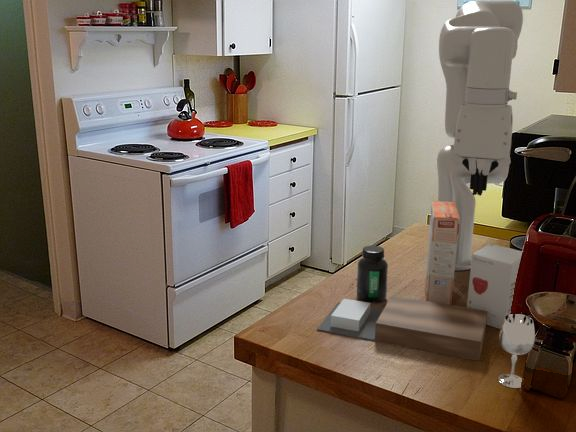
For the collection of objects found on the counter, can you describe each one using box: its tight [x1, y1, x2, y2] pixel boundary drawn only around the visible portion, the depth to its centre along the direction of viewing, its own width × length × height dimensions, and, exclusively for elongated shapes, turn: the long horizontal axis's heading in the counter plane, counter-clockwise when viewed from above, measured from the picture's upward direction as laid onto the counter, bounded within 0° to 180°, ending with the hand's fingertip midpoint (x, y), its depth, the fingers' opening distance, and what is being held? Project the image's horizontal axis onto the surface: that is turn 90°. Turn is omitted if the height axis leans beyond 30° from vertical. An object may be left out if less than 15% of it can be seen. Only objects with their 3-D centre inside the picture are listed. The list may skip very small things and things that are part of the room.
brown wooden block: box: [374, 295, 488, 362], centre depth 124 cm, size 14×20×4 cm
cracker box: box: [424, 200, 460, 305], centre depth 141 cm, size 14×6×21 cm, turn 168°
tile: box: [331, 298, 371, 332], centre depth 130 cm, size 9×6×2 cm, turn 158°
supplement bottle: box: [356, 245, 389, 304], centre depth 140 cm, size 7×7×12 cm
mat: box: [316, 301, 384, 342], centre depth 130 cm, size 14×12×1 cm
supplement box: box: [466, 243, 523, 330], centre depth 130 cm, size 9×9×15 cm
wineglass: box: [497, 313, 536, 389], centre depth 106 cm, size 6×6×12 cm
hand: (477, 193), depth 118 cm, fingers closed
